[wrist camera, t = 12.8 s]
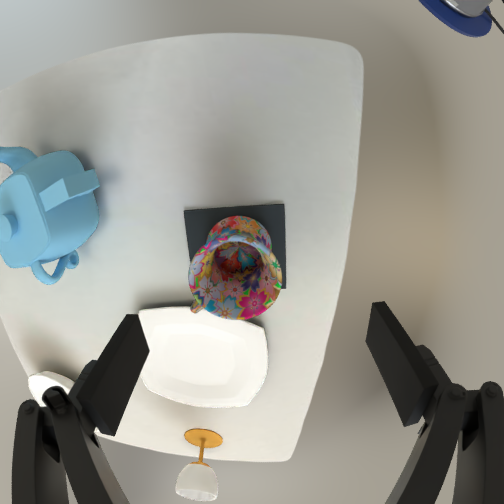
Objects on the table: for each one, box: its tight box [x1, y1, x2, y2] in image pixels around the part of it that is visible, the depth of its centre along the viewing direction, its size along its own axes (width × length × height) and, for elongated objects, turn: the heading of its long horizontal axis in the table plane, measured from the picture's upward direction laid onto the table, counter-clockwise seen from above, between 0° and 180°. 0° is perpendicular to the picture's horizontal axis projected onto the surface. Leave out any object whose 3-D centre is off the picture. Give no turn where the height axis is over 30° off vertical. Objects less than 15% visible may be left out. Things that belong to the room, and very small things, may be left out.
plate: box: [138, 306, 268, 408], centre depth 44 cm, size 23×23×2 cm
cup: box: [176, 429, 223, 501], centre depth 47 cm, size 9×9×16 cm
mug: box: [188, 216, 282, 320], centre depth 33 cm, size 12×9×11 cm
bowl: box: [28, 371, 99, 433], centre depth 48 cm, size 20×20×6 cm
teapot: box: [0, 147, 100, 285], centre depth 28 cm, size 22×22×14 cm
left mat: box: [184, 204, 286, 289], centre depth 38 cm, size 13×12×1 cm
